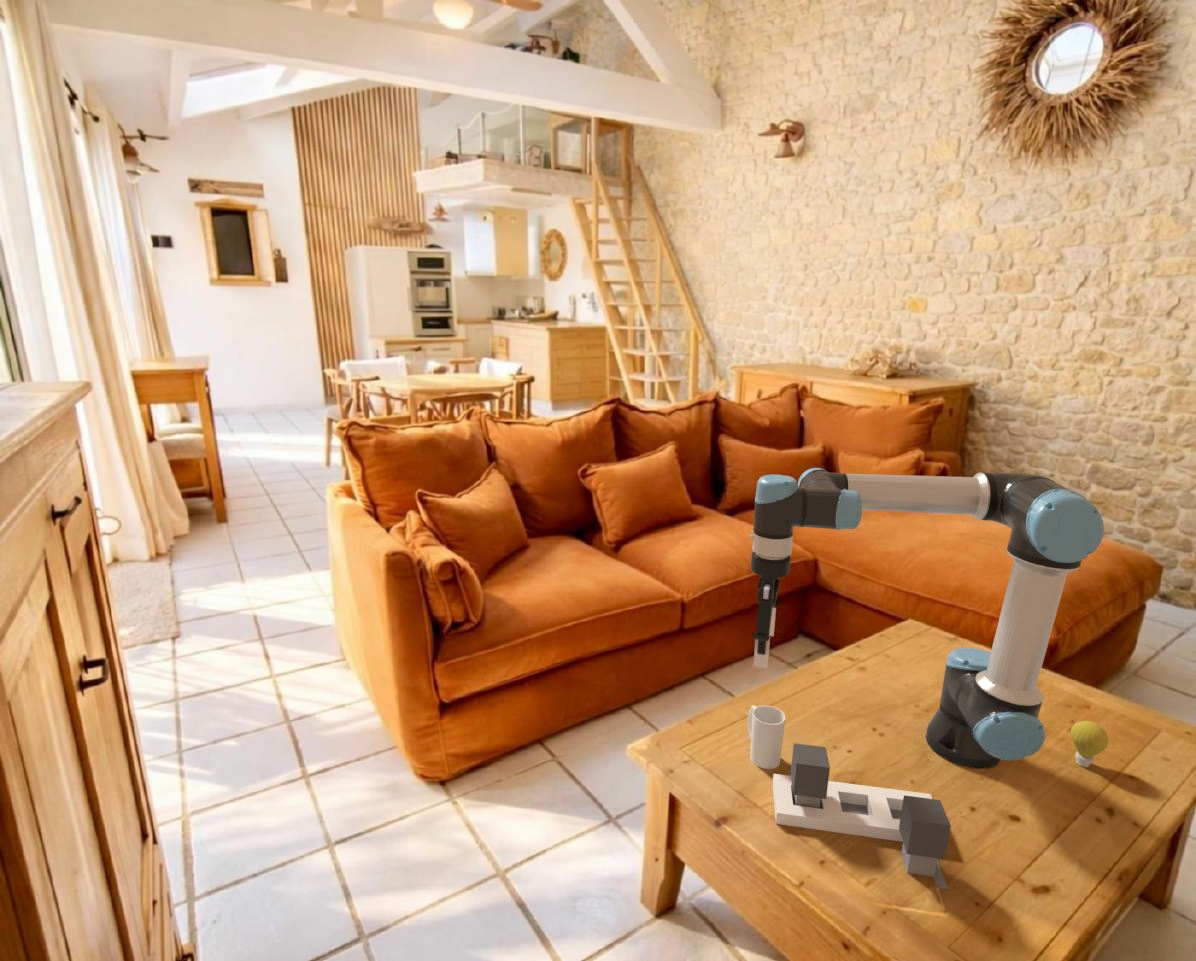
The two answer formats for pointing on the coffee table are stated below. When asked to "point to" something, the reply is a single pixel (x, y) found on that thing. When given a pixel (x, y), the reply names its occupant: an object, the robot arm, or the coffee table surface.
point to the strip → (844, 809)
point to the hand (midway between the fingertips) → (764, 650)
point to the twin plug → (809, 775)
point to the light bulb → (1088, 741)
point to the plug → (923, 834)
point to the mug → (766, 735)
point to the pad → (939, 877)
